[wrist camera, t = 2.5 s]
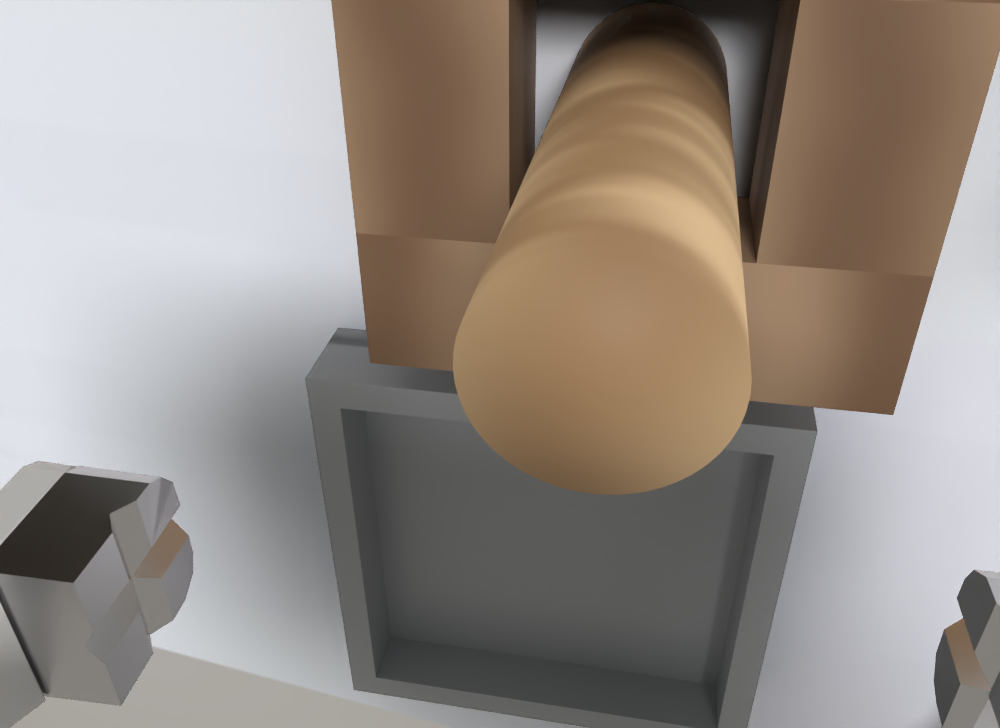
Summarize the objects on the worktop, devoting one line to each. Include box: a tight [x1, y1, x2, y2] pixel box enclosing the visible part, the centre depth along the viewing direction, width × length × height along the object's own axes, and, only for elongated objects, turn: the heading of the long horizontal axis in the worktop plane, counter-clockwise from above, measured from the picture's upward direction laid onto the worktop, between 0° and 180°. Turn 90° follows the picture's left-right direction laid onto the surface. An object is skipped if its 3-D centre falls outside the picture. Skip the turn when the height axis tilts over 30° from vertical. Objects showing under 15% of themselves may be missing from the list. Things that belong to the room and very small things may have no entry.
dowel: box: [453, 3, 752, 495], centre depth 18 cm, size 4×4×14 cm
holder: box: [331, 0, 1000, 415], centre depth 22 cm, size 14×14×4 cm
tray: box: [305, 328, 817, 728], centre depth 31 cm, size 15×15×3 cm
